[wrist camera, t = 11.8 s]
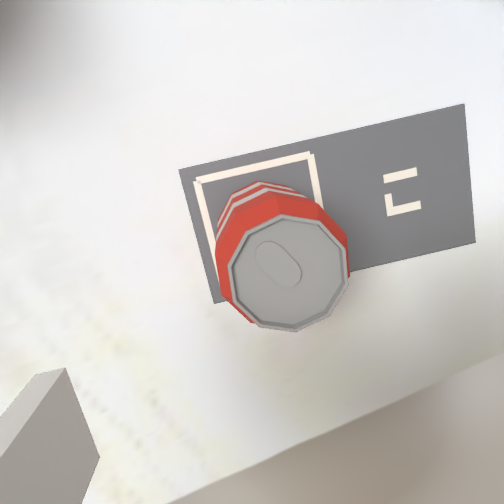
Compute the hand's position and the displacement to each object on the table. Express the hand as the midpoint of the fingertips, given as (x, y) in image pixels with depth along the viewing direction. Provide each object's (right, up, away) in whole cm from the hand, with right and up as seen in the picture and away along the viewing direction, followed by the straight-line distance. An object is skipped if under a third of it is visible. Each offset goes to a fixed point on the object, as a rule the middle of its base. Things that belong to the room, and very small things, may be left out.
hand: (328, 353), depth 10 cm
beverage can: (-1, +5, +18) cm, 19 cm away
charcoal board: (+4, +6, +18) cm, 20 cm away
